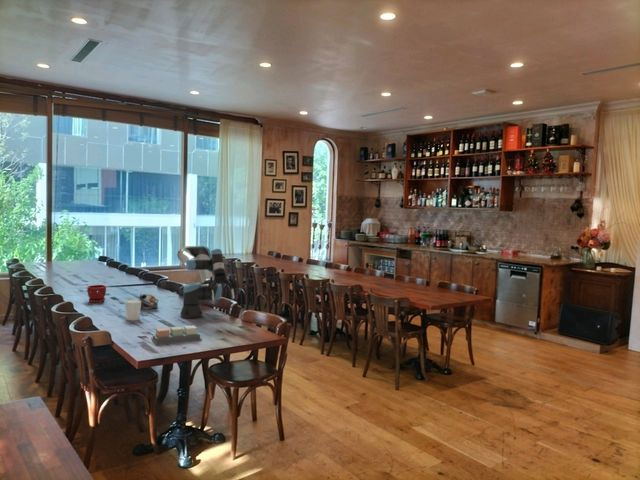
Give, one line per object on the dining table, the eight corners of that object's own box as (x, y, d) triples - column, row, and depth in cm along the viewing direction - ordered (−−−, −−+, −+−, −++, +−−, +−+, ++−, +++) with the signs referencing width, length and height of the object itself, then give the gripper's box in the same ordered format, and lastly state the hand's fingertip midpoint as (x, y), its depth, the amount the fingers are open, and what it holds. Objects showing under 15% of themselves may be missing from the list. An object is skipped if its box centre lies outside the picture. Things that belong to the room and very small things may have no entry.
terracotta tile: (156, 335, 282) (156, 328, 281) (166, 334, 285) (166, 327, 284) (158, 338, 276) (158, 331, 276) (169, 337, 280) (169, 330, 279)
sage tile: (170, 334, 286) (170, 327, 285) (180, 333, 289) (180, 326, 288) (172, 336, 281) (172, 329, 280) (183, 335, 284) (183, 328, 283)
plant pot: (99, 299, 386) (100, 283, 385) (109, 301, 378) (109, 286, 377) (83, 301, 375) (83, 285, 374) (92, 303, 368) (93, 288, 367)
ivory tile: (183, 332, 290) (184, 326, 289) (193, 331, 293) (194, 325, 292) (186, 335, 285) (186, 328, 284) (196, 334, 288) (197, 327, 287)
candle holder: (122, 318, 328) (123, 300, 327) (136, 316, 335) (137, 299, 334) (129, 321, 321) (129, 303, 321) (143, 319, 329) (144, 301, 328)
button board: (151, 339, 283) (151, 333, 283) (195, 335, 297) (195, 329, 296) (155, 344, 273) (155, 339, 273) (201, 340, 286) (201, 334, 286)
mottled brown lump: (160, 306, 369) (163, 292, 363) (153, 315, 359) (155, 301, 352) (142, 299, 370) (144, 285, 363) (134, 308, 359) (136, 294, 352)
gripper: (201, 268, 323) (205, 298, 314) (238, 267, 334) (243, 295, 325) (199, 273, 329) (203, 302, 320) (235, 271, 340) (240, 300, 331)
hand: (223, 299), depth 323 cm, fingers open, 13 cm apart
